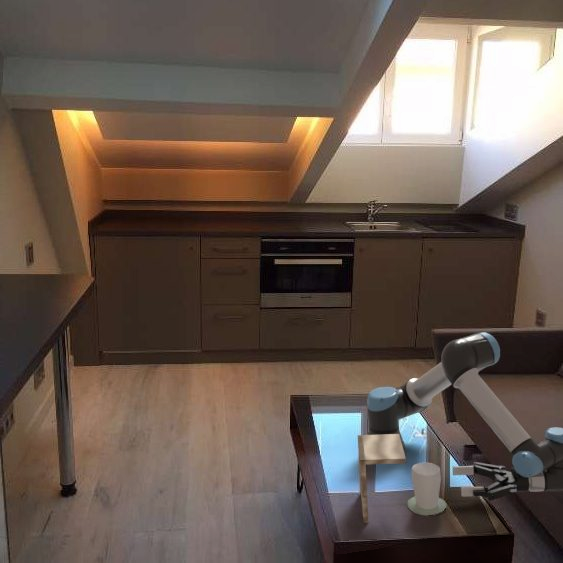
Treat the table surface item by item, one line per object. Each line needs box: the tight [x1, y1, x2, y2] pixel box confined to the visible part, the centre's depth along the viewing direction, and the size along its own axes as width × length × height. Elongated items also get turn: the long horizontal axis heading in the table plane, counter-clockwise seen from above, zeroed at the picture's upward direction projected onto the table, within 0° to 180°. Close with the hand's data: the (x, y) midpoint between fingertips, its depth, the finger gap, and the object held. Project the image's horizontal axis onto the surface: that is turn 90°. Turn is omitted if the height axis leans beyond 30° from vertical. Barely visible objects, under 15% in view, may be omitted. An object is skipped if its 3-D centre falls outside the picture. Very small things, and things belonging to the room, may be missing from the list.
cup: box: [411, 462, 442, 509], centre depth 196 cm, size 9×9×12 cm
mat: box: [407, 495, 447, 517], centre depth 197 cm, size 12×12×1 cm
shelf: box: [357, 434, 407, 524], centre depth 197 cm, size 14×18×20 cm
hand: (456, 481), depth 195 cm, fingers open, 13 cm apart
